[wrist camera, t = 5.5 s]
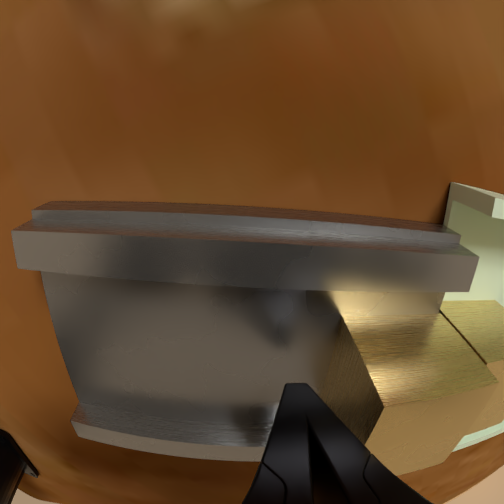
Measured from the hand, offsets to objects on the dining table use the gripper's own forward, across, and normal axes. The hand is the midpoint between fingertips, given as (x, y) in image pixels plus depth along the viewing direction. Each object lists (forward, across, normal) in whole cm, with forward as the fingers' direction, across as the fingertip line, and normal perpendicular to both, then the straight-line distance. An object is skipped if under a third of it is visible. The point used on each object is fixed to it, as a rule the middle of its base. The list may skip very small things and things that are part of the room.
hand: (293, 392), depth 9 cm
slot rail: (+3, +2, 0) cm, 3 cm away
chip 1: (+1, -4, 0) cm, 4 cm away
